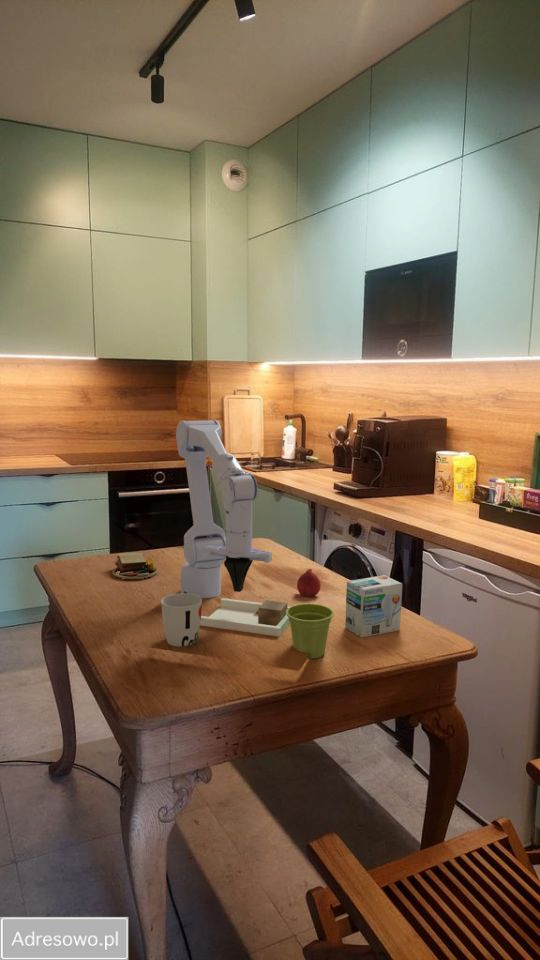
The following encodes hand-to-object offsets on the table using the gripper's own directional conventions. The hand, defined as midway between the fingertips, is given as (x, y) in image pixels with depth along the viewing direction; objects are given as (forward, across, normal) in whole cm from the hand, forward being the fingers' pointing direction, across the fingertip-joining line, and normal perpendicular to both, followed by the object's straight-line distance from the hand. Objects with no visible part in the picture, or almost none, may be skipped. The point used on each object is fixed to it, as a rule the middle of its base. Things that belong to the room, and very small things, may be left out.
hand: (238, 590), depth 141 cm
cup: (+8, -6, -15) cm, 18 cm away
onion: (+8, +11, +21) cm, 25 cm away
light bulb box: (+8, +29, +8) cm, 31 cm away
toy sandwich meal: (+9, -41, +25) cm, 48 cm away
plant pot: (+8, +19, -9) cm, 22 cm away
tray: (+8, +3, 0) cm, 8 cm away
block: (+6, +8, 0) cm, 10 cm away
